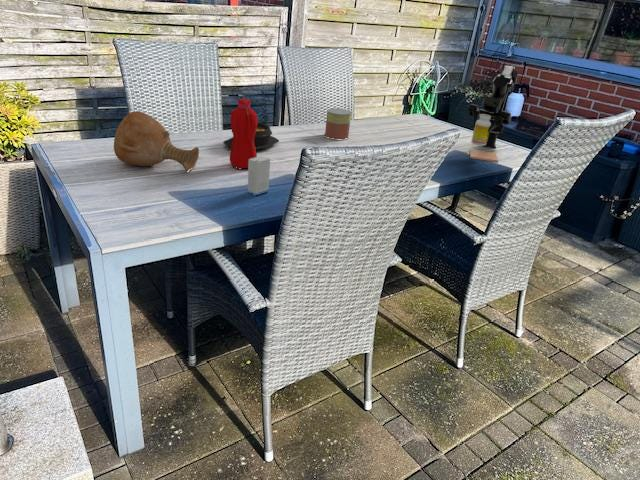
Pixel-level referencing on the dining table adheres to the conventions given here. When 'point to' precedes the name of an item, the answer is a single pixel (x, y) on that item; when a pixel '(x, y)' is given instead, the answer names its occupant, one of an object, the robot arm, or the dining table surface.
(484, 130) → the supplement bottle
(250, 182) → the skincare box
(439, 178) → the dining table surface
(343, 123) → the canned food
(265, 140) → the black hat
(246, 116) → the water bottle
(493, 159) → the terracotta tile
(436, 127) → the dining table surface
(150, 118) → the jug
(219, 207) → the dining table surface
